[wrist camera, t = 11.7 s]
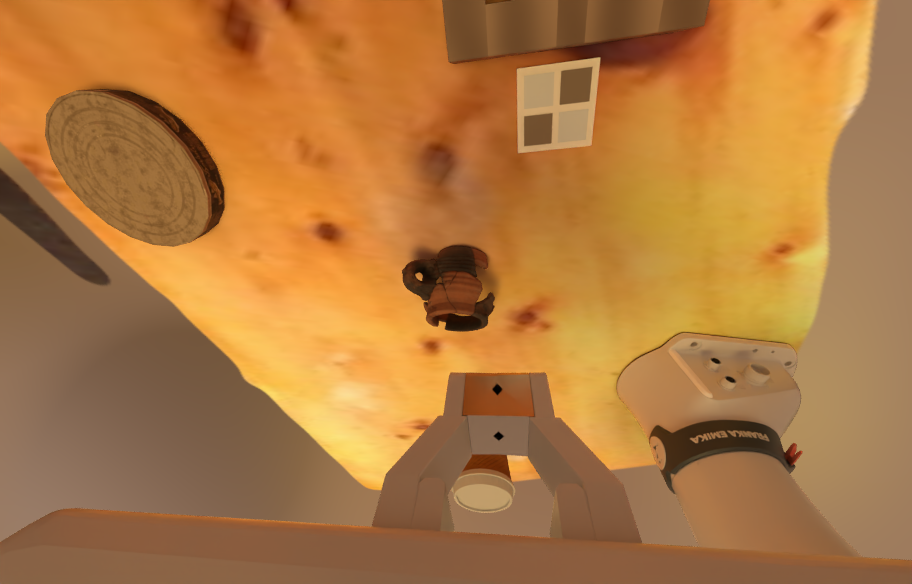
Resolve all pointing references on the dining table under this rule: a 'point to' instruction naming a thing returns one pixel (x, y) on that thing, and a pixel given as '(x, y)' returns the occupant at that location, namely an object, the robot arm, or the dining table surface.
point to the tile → (556, 105)
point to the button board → (558, 24)
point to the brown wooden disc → (135, 165)
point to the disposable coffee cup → (484, 484)
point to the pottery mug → (451, 288)
